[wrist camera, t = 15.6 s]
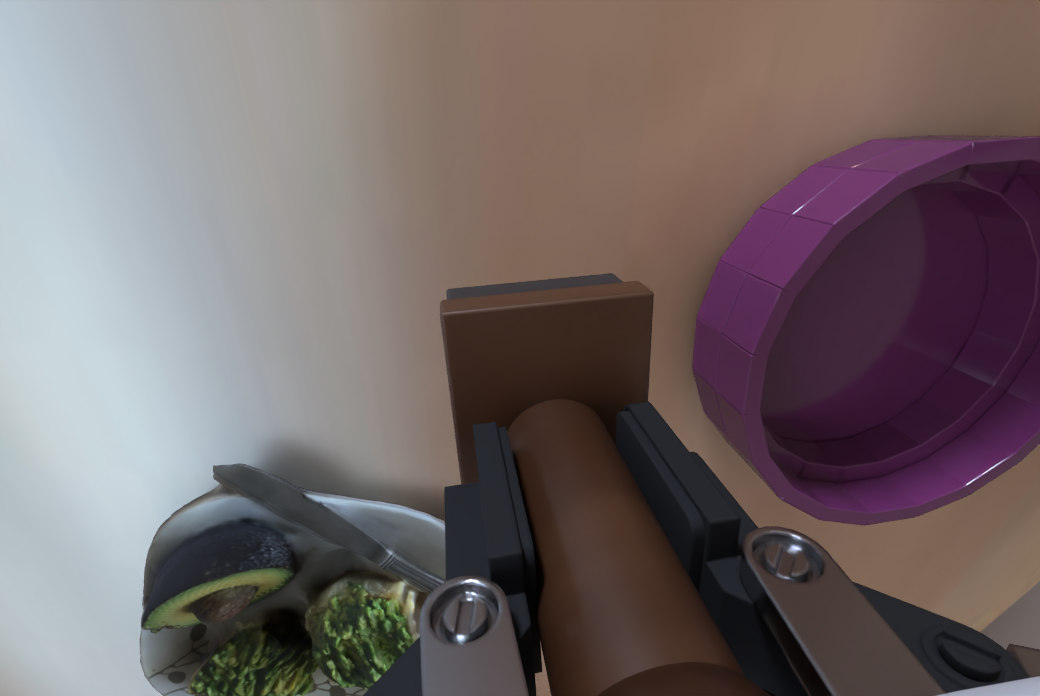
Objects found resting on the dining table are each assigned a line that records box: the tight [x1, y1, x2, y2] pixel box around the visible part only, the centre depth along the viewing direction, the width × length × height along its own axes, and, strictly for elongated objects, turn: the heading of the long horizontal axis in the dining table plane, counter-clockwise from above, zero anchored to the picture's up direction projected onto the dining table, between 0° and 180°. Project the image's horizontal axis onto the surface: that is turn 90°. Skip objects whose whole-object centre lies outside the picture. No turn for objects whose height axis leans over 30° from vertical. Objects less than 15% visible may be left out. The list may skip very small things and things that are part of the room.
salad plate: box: [140, 464, 446, 696], centre depth 27 cm, size 19×18×5 cm
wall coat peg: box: [440, 273, 771, 696], centre depth 10 cm, size 7×5×12 cm, turn 3°
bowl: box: [692, 135, 1040, 525], centre depth 24 cm, size 18×18×6 cm
